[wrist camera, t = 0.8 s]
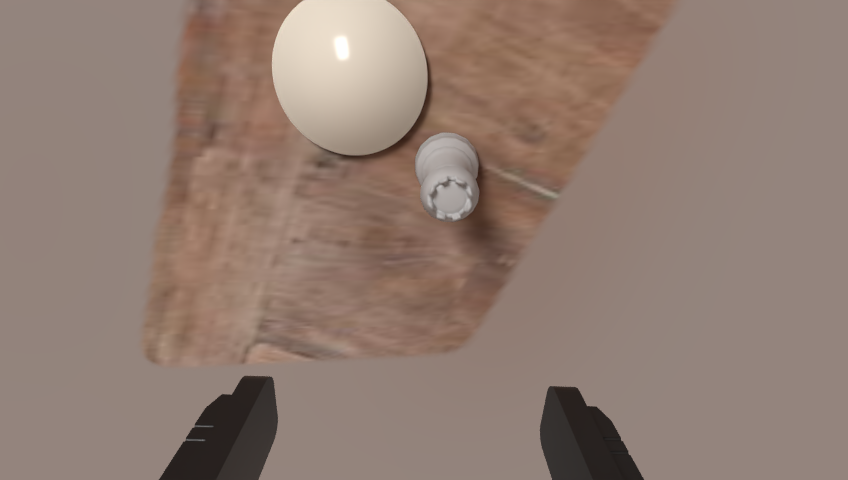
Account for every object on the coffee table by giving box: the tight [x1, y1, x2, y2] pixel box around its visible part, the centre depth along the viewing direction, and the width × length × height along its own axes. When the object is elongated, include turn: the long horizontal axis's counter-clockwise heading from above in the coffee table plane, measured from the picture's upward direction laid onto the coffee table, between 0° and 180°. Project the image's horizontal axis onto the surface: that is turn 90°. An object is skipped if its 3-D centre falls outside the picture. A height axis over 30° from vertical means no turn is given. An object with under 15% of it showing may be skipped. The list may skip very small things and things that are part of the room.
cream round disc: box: [272, 0, 428, 155], centre depth 26 cm, size 10×10×1 cm
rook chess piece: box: [415, 133, 479, 222], centre depth 25 cm, size 4×4×8 cm
